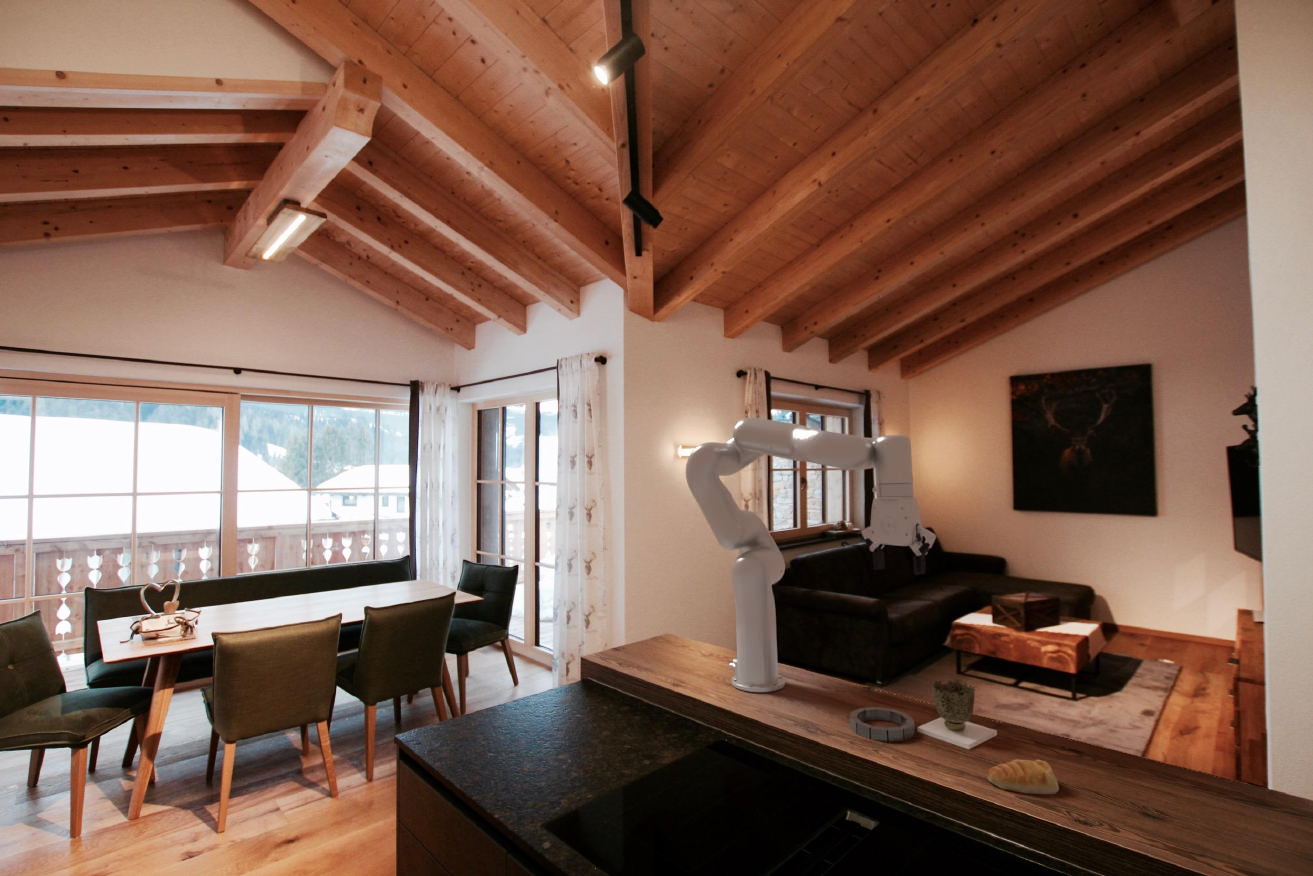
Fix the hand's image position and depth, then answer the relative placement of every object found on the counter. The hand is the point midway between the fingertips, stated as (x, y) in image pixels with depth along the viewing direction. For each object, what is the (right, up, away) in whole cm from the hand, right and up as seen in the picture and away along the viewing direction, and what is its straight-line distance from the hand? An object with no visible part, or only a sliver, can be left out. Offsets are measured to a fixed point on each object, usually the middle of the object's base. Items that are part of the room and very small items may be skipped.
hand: (898, 571), depth 134 cm
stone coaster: (+5, -27, -16) cm, 32 cm away
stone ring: (-8, -28, -13) cm, 32 cm away
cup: (+4, -27, -16) cm, 31 cm away
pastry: (+6, -26, -36) cm, 45 cm away
